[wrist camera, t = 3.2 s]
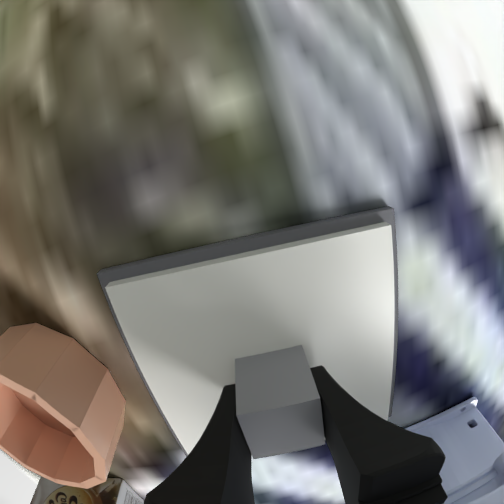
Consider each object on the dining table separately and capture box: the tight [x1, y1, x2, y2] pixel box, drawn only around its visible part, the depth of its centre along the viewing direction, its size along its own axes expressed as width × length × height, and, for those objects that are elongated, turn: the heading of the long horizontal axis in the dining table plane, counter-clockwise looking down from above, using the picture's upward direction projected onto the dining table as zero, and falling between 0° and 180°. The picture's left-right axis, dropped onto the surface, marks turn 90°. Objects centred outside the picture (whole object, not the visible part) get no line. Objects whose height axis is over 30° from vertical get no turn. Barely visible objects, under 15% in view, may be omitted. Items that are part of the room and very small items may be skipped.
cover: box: [105, 222, 395, 459], centre depth 12 cm, size 12×12×4 cm
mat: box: [97, 206, 398, 456], centre depth 15 cm, size 13×13×1 cm
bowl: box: [0, 323, 126, 489], centre depth 13 cm, size 9×9×4 cm
